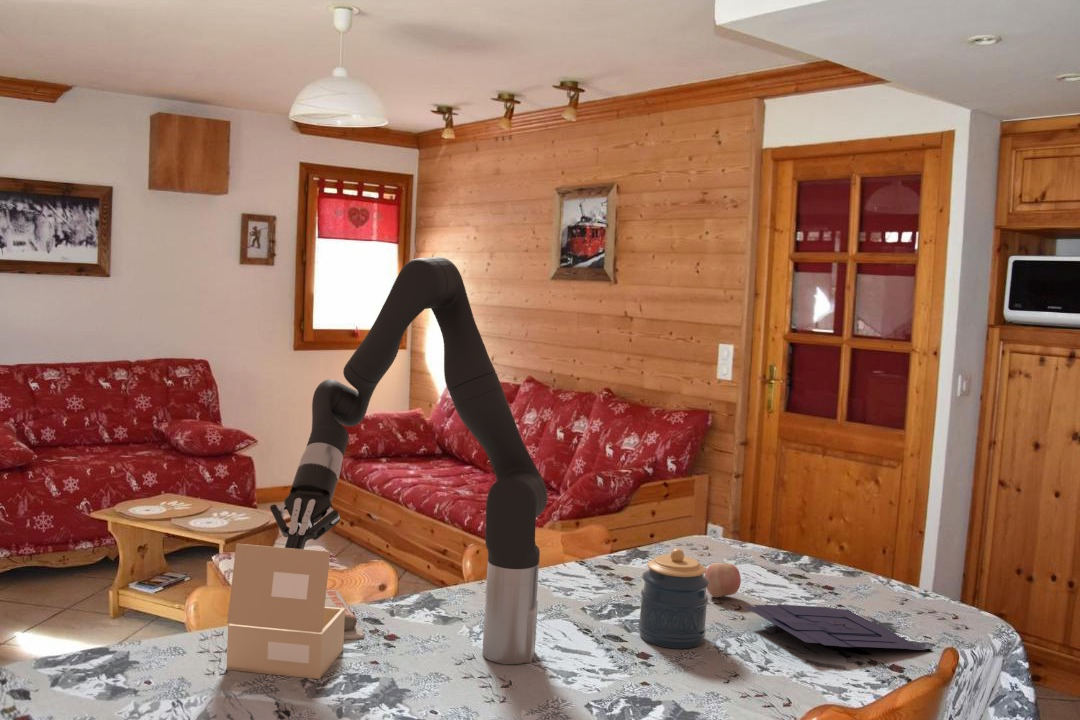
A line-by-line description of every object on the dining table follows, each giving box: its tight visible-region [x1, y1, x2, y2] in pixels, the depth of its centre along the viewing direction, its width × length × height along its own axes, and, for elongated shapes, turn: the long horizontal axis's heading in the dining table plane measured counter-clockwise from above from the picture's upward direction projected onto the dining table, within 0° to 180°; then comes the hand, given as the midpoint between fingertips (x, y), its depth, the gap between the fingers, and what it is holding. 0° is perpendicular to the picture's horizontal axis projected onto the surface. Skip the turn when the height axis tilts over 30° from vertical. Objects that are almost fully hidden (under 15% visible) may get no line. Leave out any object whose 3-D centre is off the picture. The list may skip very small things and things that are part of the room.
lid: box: [226, 543, 331, 632], centre depth 162 cm, size 16×13×1 cm
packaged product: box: [325, 588, 366, 641], centre depth 187 cm, size 18×5×10 cm
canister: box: [638, 548, 709, 650], centre depth 190 cm, size 13×13×18 cm
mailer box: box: [225, 607, 345, 680], centre depth 168 cm, size 16×13×8 cm
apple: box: [704, 562, 742, 599], centre depth 217 cm, size 8×8×8 cm
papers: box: [743, 603, 926, 651], centre depth 197 cm, size 24×30×4 cm
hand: (291, 557), depth 168 cm, fingers closed
